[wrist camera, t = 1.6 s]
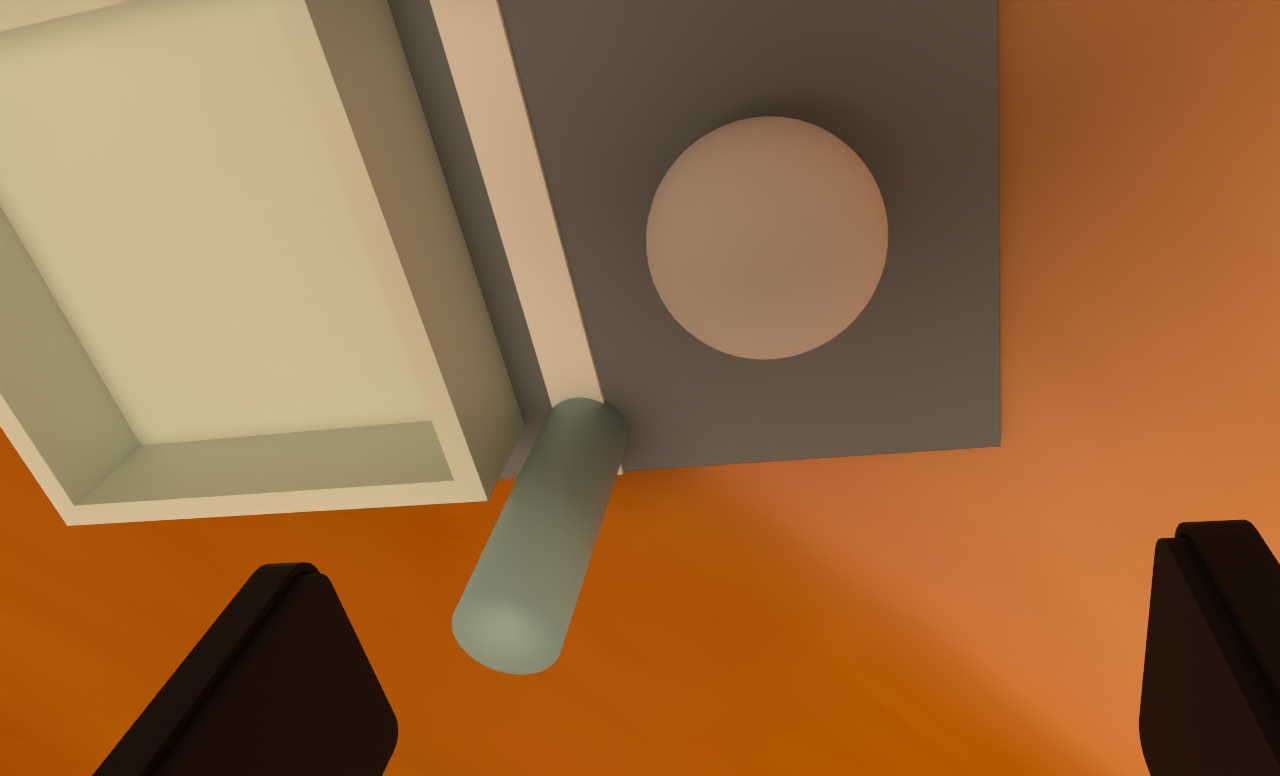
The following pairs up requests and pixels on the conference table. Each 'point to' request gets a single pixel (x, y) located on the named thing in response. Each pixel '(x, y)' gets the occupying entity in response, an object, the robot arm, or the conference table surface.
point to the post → (543, 541)
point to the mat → (638, 161)
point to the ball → (767, 237)
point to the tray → (234, 266)
